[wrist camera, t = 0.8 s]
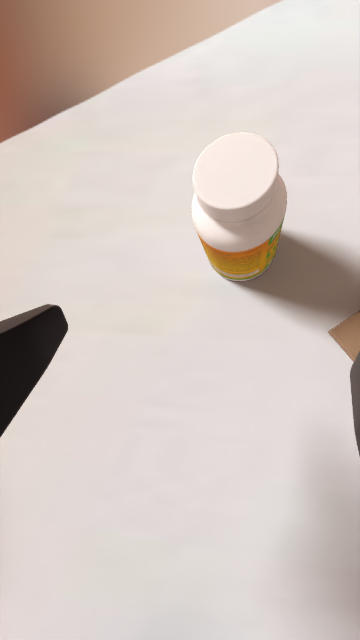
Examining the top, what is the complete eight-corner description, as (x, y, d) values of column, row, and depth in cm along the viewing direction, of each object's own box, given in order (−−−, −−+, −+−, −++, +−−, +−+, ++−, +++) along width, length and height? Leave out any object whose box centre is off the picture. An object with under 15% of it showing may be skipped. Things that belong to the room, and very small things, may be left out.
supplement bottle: (275, 282, 20) (297, 219, 11) (207, 283, 22) (175, 229, 12) (275, 217, 21) (296, 106, 12) (209, 222, 22) (180, 128, 13)
